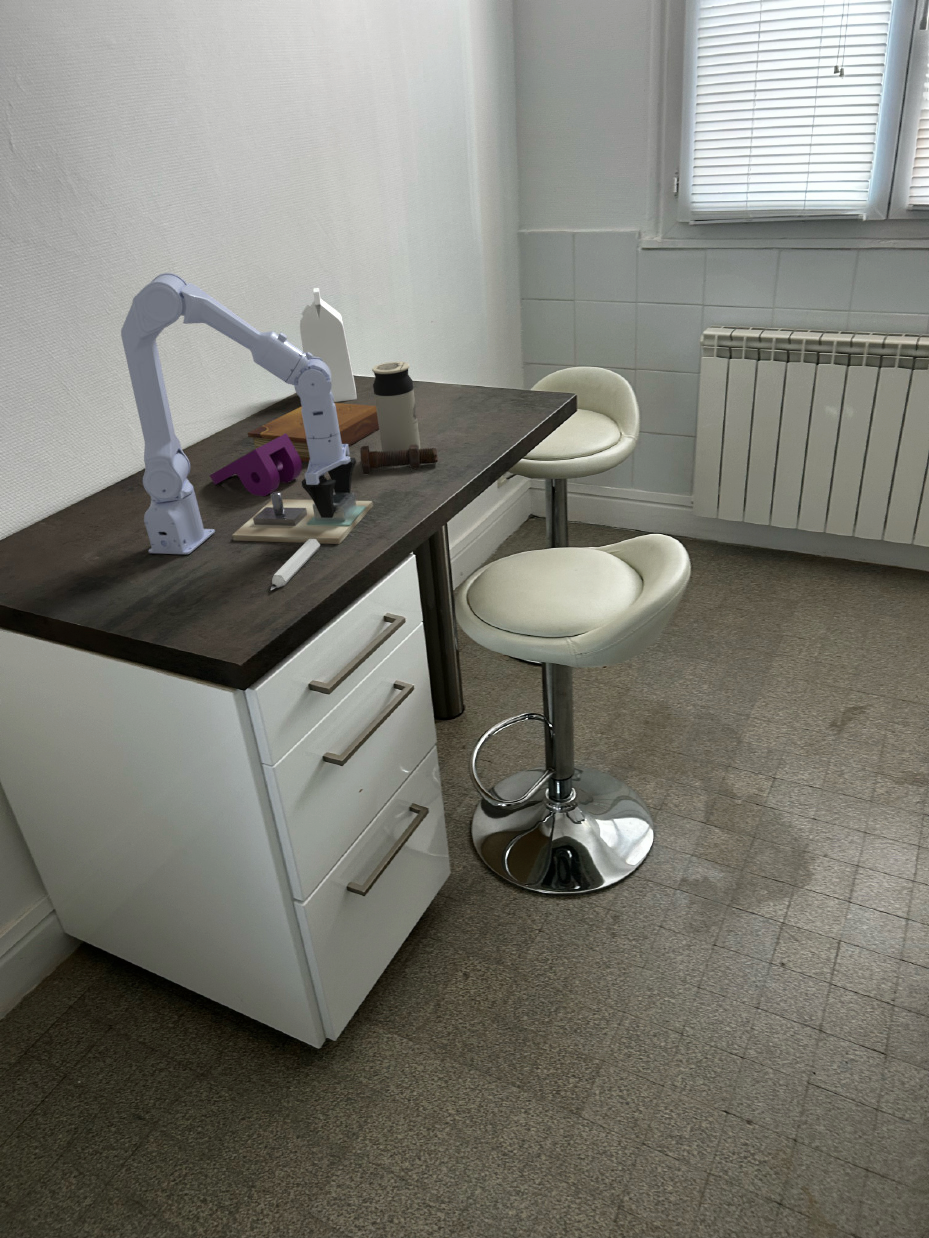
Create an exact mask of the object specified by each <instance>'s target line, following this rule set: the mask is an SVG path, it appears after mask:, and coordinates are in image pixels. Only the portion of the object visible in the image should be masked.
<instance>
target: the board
mask: <svg viewBox="0 0 929 1238" xmlns="http://www.w3.org/2000/svg"><path fill="white" fill-rule="evenodd" d="M282 501H283V506H284V508H306V510H307V515H306V516H305V517H304V518H303V519H302V520H301V521H300V522H299V523H298V524H297V525H296V526H284V525H254V521H253V518H254V517H255V516H256V515H257V514H259V513H260V512H261V511H262V510H263V509H264V508H265V507H273V504H272V499H271V500H270V501H269V502H268V503H267V504H266V505H264V506H263V507H262V508H261V509H260V510H259V511H257V513H255V514H254V515H253V516H252V517H251V518H250V519H249V520H247V521H246V522H245V523H244V524H243V525H241V526H240V527H239V528H238V529H236V531H235V532H234V533H232V535H231V536H232V541H242V542H244V541H246V542H249V541H250V542H270V543H271V542H272V543H273V542H275V543H297V544H298V543H299V544H300V543H301V544H302V543H303V544H305V543H306V542H307V541H308V540H309V539H316V540H317V541H318V543H319V544H331V545H333V544H335V545H340V544H342V542H343V541H344V539H346V538H347V536H348V535H349V534H350V533H351V532H352V531H353V530H354V528H355V527H356V526H357V525H358V524H359V523H360V521H362V519H364V517H365V516H366V515H367V514H368V513H369V511H370V510H371V509H372V508H373V507H374V505H373V504H374V503H373V501H372V500H355V501H356V507H357V509H356V510H355V511H354V512H353V513H352V514H351V516H350V517H349V518H348V519H347V520H346V521H345V522H344V521H315V516H314V511H313V504H314V501H313V500H312V499H287V498H286V499H285V498H284V499H283V498H282Z"/></svg>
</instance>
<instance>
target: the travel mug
mask: <svg viewBox="0 0 929 1238" xmlns="http://www.w3.org/2000/svg"><path fill="white" fill-rule="evenodd" d="M409 368H410V364H409V363H408V362H404V361H390V362H384V363H380V364H376V365H375V366H373V367H372V369H371V371H372V373H373V375H374V377H375V378H374V381H373V383H372V386H373V387H372V388H373V394H374V395H373V396H374V402H375V403H374V404H375V406H376V410H377V417H378V424H379V429H378V430H379V436H380V443H381V450H382V452H384V451H385V452H386V451H387V452H388V451H391V450H392V451H396V450H397V451H398V450H402V451H403V450H408V449H409V446H410V445H415V444H417V445H418V446H419V449H422V448H421V441H420V433H419V431H420V430H419V425H418V417H417V416H418V415H417V407H416V399H415V391H414V383H413V379H412V377H411V376H410V375H409Z"/></svg>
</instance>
